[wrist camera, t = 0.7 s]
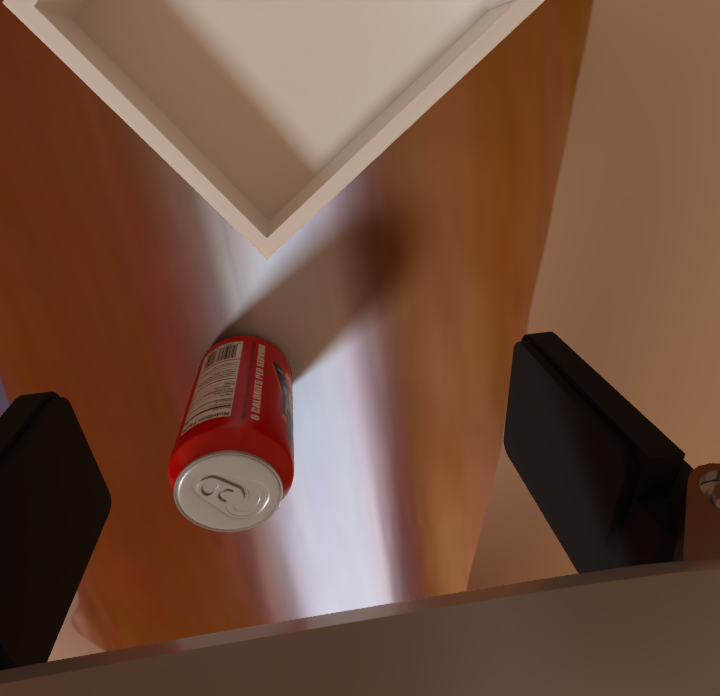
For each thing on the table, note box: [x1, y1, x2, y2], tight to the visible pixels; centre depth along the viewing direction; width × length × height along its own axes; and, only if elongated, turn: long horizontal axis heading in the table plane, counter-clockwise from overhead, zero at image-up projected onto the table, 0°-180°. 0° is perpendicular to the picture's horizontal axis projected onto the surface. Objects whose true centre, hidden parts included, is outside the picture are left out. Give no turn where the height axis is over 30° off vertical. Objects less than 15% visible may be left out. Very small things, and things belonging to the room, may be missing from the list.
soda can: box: [168, 335, 294, 532], centre depth 35 cm, size 8×8×15 cm
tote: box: [3, 0, 545, 259], centre depth 28 cm, size 22×18×6 cm
